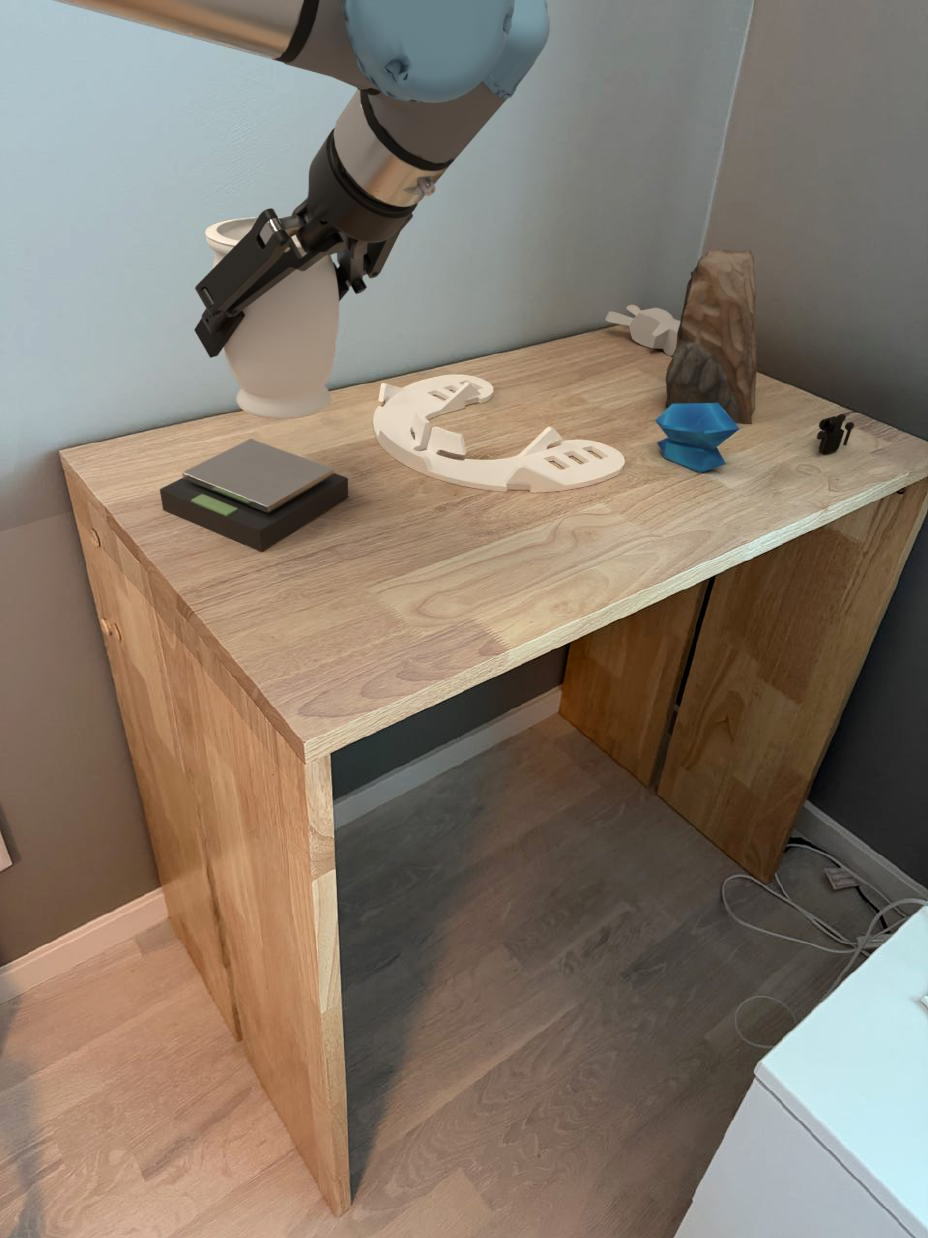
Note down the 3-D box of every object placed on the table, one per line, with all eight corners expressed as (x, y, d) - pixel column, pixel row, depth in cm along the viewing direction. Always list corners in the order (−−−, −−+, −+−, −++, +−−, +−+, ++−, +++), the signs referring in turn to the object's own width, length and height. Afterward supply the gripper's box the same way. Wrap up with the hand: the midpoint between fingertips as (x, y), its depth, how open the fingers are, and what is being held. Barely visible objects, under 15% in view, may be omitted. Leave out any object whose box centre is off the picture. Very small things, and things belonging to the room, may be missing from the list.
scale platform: (182, 478, 93) (181, 472, 93) (251, 444, 100) (250, 438, 100) (268, 513, 88) (267, 506, 88) (333, 474, 96) (333, 468, 95)
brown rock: (660, 419, 119) (690, 266, 107) (649, 383, 129) (675, 240, 118) (753, 425, 119) (794, 272, 107) (734, 389, 129) (769, 246, 117)
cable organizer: (640, 467, 107) (645, 441, 105) (488, 522, 95) (491, 494, 93) (464, 374, 129) (465, 351, 127) (322, 409, 116) (320, 384, 114)
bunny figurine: (679, 338, 134) (604, 301, 141) (670, 369, 137) (596, 332, 145) (713, 326, 140) (638, 291, 147) (703, 356, 143) (631, 320, 150)
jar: (231, 431, 76) (210, 247, 67) (220, 385, 84) (199, 215, 75) (352, 421, 79) (348, 244, 70) (330, 377, 86) (324, 213, 77)
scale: (163, 509, 94) (159, 487, 92) (254, 462, 103) (252, 441, 102) (261, 552, 88) (259, 529, 86) (348, 497, 98) (348, 476, 96)
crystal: (668, 388, 110) (759, 394, 103) (669, 454, 114) (756, 466, 107) (636, 403, 106) (729, 412, 98) (638, 472, 110) (727, 485, 102)
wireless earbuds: (814, 460, 112) (826, 423, 109) (799, 452, 113) (810, 415, 110) (849, 448, 115) (861, 412, 112) (833, 441, 116) (845, 405, 113)
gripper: (274, 237, 55) (168, 399, 72) (508, 192, 69) (373, 337, 86) (213, 128, 54) (121, 318, 72) (461, 106, 69) (334, 269, 86)
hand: (258, 328), depth 79 cm, fingers closed on jar, 10 cm apart
